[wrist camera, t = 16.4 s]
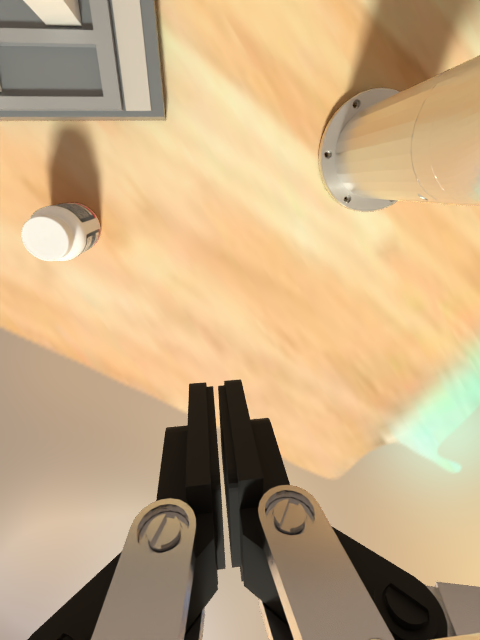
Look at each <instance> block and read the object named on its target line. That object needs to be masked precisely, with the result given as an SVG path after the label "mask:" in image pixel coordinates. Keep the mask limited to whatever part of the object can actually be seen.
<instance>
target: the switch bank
mask: <svg viewBox="0 0 480 640" xmlns="http://www.w3.org/2000/svg"><path fill="white" fill-rule="evenodd" d="M78 4H79V10H80V17H81V23H82V26H56V25H46V24H45V23H44V22H43V21H42V20H41V19H40V18H39V17H38V15H37V14H36V13H35V12H34V11H33V10H32V9H31V8H30V7H29V6H28V5H27V4H26V3H25V2H24V1H23V0H0V84H1V89H2V92H0V121H86V120H166V115H165V104H164V93H163V82H162V71H161V60H160V49H159V37H158V26H157V15H156V4H155V0H78Z"/></svg>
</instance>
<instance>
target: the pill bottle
mask: <svg viewBox="0 0 480 640" xmlns="http://www.w3.org/2000/svg"><path fill="white" fill-rule="evenodd" d="M100 233H101V228H100V223H99V220H98V218H97V216H96V215H95V214H94V212H93V211H92V210H91V209H89V208H88V207H86V206H84V205H82V204H79V203H64V204H58V205H51V206H46V207H43V208H41V209H39V210H37V211H36V212H34V213H33V215H32V216H31V218H30V219H29V220H28V221H27V222H26V223H25V224H24V226H23V228H22V234H21V236H22V241H23V244H24V246H25V247H26V249H27V250H28V251H29V252H30V253H31V254H32V255H33V256H35V257H37V258H39V259H41V260H45V261H54V260H56V261H66V260H70V259H73V258H75V257H77V256H79V255H80V254H82V253H83V252H85V251H87V250H88V249H90V248H91V247H93V246H94V245H95V244H96V243H97V242H98V240H99V238H100Z"/></svg>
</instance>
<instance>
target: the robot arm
mask: <svg viewBox="0 0 480 640" xmlns="http://www.w3.org/2000/svg"><path fill="white" fill-rule="evenodd" d="M353 103H354V104H355V108H354V107H353ZM325 152H326V153H327V157H325V155H324V154H325ZM318 159H319V171H320V175H321V179H322V182H323V184H324V186H325V188H326V190H327V191H328V193H329V194H330V196H331V197H332V198H333V199H334V200H335V201H336V202H338V203H339V204H340V205H342V206H344V207H346V208H348V209H351V210H354V211H360V212H374V211H378V210H382V209H384V208H387V207H389V206H391V205H393V204H394V203H396V202H397V201H410V202H423V203H436V204H449V205H464V206H475V205H480V55H479V56H477V57H475V58H473V59H471V60H469V61H466V62H464V63H462V64H460V65H458V66H456V67H454V68H451V69H449V70H447V71H445V72H443V73H441V74H438V75H436V76H434V77H432V78H430V79H428V80H426V81H423V82H421V83H419V84H417V85H415V86H412V87H410V88H408V89H406V90H404V91H402V92H400V91H398V90H395V89H391V88H383V87H382V88H373V89H369V90H367V91H364V92H361V93H359V94H357V95H355V96H354V97H352V98H351V99H349V100H348V101H346V102H345V103H344V104H343V105H342V106H341V107H340V108H339V109H338V110H337V111H336V112H335V113H334V115H333V116H332V118H331V119H330V121H329V122H328V124H327V126H326V128H325V131H324V133H323V136H322V139H321V143H320V148H319V157H318ZM345 197H346V201H344V198H345ZM218 391H219V410H220V429H221V447H222V462H223V473H224V484H225V495H226V506H227V517H228V528H229V539H230V550H231V561H232V567H240V571H241V579H242V581H244V586H245V587H246V588H248V589H249V590H250V591H251V592H252V593H253V594H255V596H257V597H258V600H259V607H260V611H261V614H262V618H263V621H264V625H265V628H266V632H267V635H268V639H269V640H480V587H476V586H468V585H459V584H450V583H442V582H436V585H435V587H432V586H425V585H424V584H423V583H422V582H420V581H419V580H418V579H416V578H415V577H414V576H412V575H410V574H409V573H407V572H406V571H404V570H402V569H401V568H399V567H397V566H396V565H394V564H392V563H391V562H389V561H388V560H386V559H384V558H383V557H381V556H379V555H378V554H376V553H375V552H373V551H371V550H369V549H368V548H366V547H365V546H363V545H361V544H360V543H358V542H357V541H355V540H353V539H351V538H350V537H348V536H347V535H345V534H343V533H342V532H340V531H338V530H336V529H335V528H334V527H332V526H331V525H330V523H329V521H328V520H327V518H326V516H325V514H324V512H323V511H322V509H321V507H320V505H319V504H318V502H317V501H316V499H315V498H314V497H313V496H312V495H311V494H310V493H308V492H307V491H306V490H304V489H302V488H299V487H297V486H292V485H290V484H289V480H288V477H287V474H286V471H285V467H284V465H283V461H282V458H281V454H280V451H279V448H278V445H277V441H276V438H275V435H274V432H273V429H272V425H271V422H270V420H269V418H263V419H252V420H250V417H249V413H248V408H247V404H246V399H245V395H244V390H243V386H242V382H241V380H230V381H224V386H218ZM218 569H225V552H224V535H223V517H222V500H221V484H220V470H219V458H218V444H217V431H216V418H215V406H214V393H213V386H212V387H206V383H194V384H189V406H188V426H179V427H168V428H166V431H165V438H164V446H163V454H162V462H161V469H160V477H159V485H158V493H157V500H156V502H153V503H151V504H149V505H148V506H147V507H145V508H144V509H142V510H141V512H140V513H139V514H138V515H137V516H136V517H135V519H134V521H133V523H132V525H131V527H130V530H129V533H128V536H127V539H126V542H125V545H124V547H123V550H122V552H121V553H120V554H119V555H117V556H116V557H115V558H114V559H113V560H112V561H111V562H110V563H109V564H108V565H107V566H106V567H105V568H103V569H102V570H101V571H100V572H99V573H98V574H97V575H96V576H95V577H94V578H93V579H92V580H90V582H88V583H87V584H86V585H85V586H84V587H83V588H82V589H81V590H80V591H79V592H78V593H76V594H75V595H74V596H73V597H72V598H71V599H70V600H69V601H68V602H67V603H66V604H65V605H63V606H62V607H61V608H60V609H59V610H58V611H57V612H56V613H55V614H54V615H53V616H52V617H50V619H48V620H47V621H46V622H45V623H44V624H43V625H42V626H41V627H40V628H39V629H38V630H37V631H35V632H34V633H33V634H32V635H31V636H30V638H29V639H28V640H202V637H203V626H204V618H205V606H206V605H207V603H208V602H209V601H210V599H211V598H212V597H213V595H214V594H215V592H216V591H217V590H218V587H217V585H218V577H217V570H218Z"/></svg>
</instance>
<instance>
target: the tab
mask: <svg viewBox="0 0 480 640" xmlns="http://www.w3.org/2000/svg"><path fill="white" fill-rule="evenodd" d="M23 1H24V2H25V3H26V4H27V5H28V6H29V7H30V8H31V9H32V10H33V11H34V12H35V13H36V14H37V15H38V17H39V18H40V19H41V20H42V21H43V22H44V23H45V24H46V25H56V26H82V23H81V17H80V10H79V4H78V0H23Z"/></svg>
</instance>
